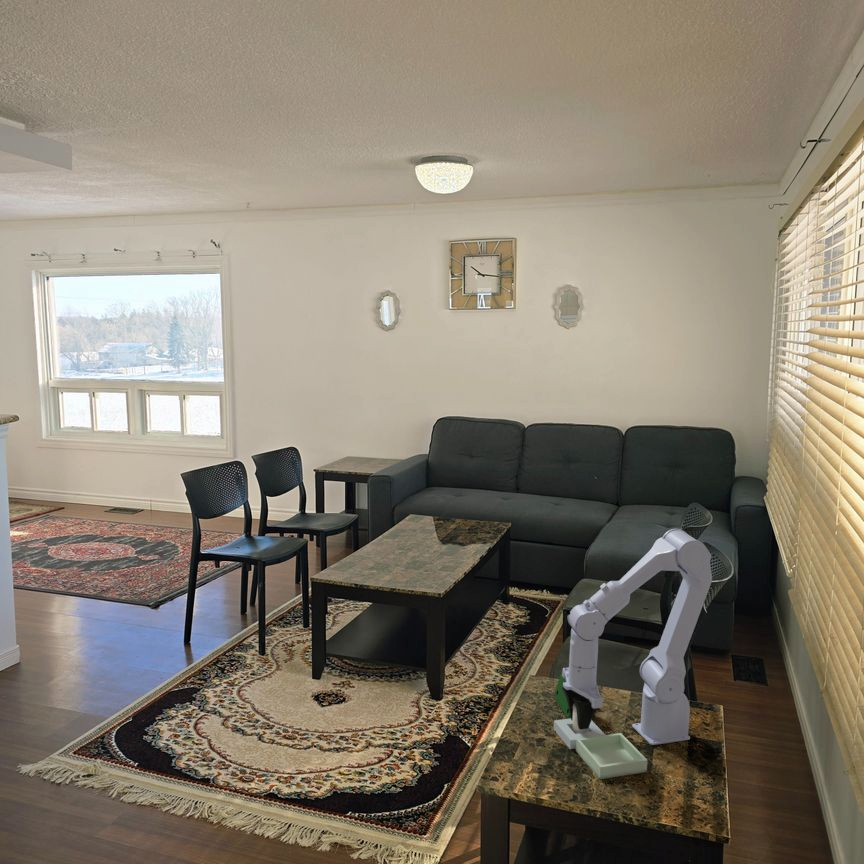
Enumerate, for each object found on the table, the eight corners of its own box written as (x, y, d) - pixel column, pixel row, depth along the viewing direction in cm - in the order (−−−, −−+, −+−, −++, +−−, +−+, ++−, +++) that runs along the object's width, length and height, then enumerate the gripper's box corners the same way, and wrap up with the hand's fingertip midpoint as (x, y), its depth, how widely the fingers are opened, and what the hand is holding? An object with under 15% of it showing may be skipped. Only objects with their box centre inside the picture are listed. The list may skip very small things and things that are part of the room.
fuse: (582, 731, 166) (583, 701, 165) (588, 739, 163) (590, 708, 162) (568, 733, 165) (570, 703, 164) (575, 741, 162) (577, 710, 161)
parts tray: (620, 744, 161) (620, 732, 161) (646, 771, 152) (647, 760, 151) (575, 750, 158) (576, 739, 158) (599, 779, 149) (600, 767, 148)
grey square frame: (587, 724, 169) (587, 716, 168) (605, 744, 161) (605, 735, 161) (553, 729, 166) (553, 720, 166) (570, 749, 159) (570, 740, 159)
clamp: (585, 734, 173) (602, 708, 168) (560, 729, 172) (576, 703, 167) (576, 691, 183) (591, 665, 179) (553, 686, 182) (567, 660, 178)
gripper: (550, 650, 167) (547, 709, 169) (581, 680, 153) (578, 744, 155) (580, 647, 169) (577, 705, 171) (613, 677, 155) (609, 740, 157)
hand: (579, 723), depth 163 cm, fingers closed on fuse, 3 cm apart
